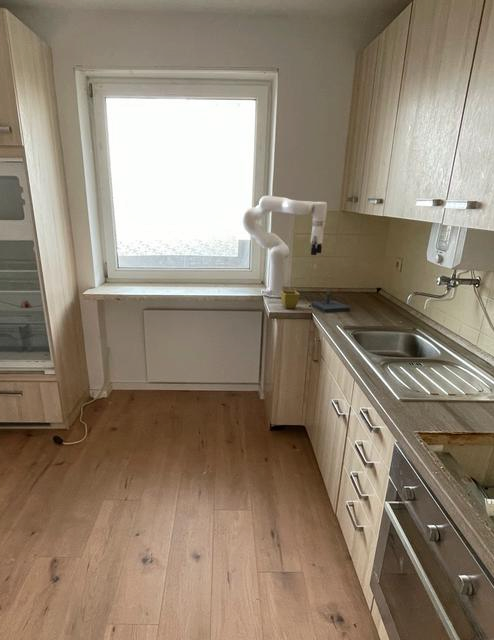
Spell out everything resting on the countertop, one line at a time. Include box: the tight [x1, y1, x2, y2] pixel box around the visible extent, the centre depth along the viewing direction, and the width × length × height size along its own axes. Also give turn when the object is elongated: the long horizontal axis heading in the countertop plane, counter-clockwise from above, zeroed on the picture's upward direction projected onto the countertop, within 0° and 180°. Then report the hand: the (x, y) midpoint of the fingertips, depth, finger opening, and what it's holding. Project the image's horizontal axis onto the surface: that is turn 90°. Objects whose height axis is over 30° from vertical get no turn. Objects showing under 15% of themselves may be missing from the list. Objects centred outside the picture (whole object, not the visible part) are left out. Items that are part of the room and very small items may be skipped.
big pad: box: [311, 300, 351, 313], centre depth 243 cm, size 16×16×2 cm
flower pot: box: [280, 290, 301, 309], centre depth 242 cm, size 9×9×9 cm
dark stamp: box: [319, 292, 334, 305], centre depth 245 cm, size 6×6×8 cm
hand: (316, 253), depth 251 cm, fingers open, 9 cm apart
